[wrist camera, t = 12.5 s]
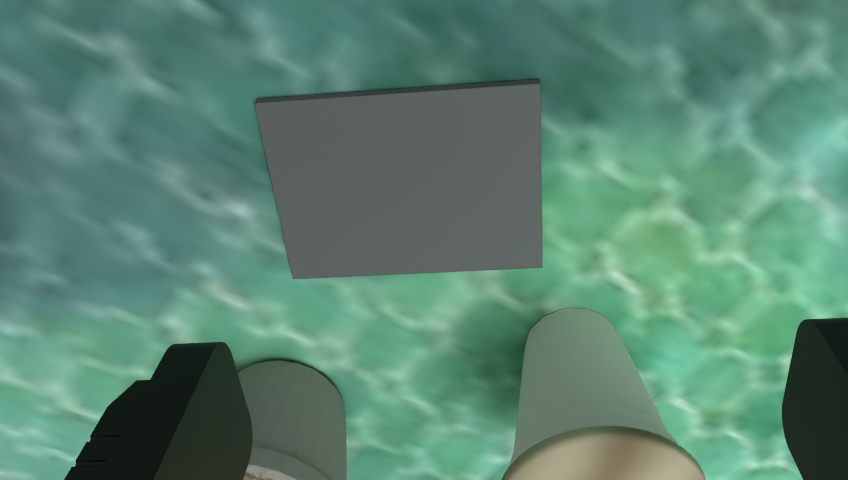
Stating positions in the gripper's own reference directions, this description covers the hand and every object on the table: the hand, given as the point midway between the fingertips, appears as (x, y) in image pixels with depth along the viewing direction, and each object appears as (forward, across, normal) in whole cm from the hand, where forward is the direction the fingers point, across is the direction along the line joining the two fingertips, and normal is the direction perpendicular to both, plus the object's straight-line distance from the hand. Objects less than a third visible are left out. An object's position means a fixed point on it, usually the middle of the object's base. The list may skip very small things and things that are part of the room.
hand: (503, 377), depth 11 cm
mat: (+32, +5, +13) cm, 35 cm away
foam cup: (+32, -5, +26) cm, 42 cm away
